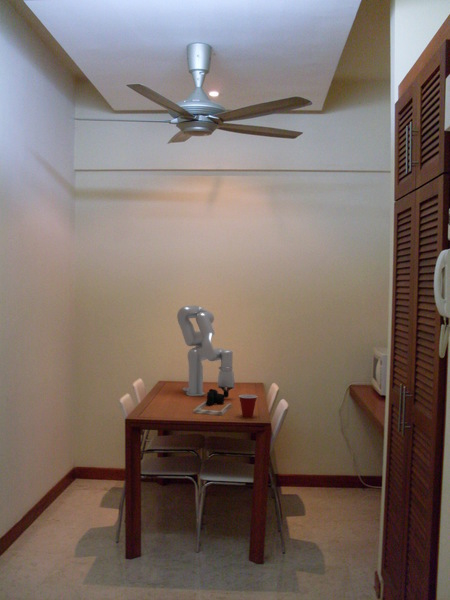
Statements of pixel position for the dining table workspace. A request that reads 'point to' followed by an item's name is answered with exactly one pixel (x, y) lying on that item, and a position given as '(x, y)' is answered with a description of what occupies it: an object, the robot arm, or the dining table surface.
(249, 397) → the plastic cup
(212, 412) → the camera rest
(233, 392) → the dining table surface
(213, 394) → the film camera
